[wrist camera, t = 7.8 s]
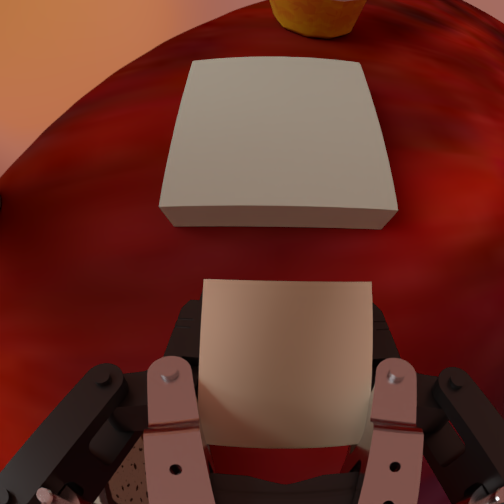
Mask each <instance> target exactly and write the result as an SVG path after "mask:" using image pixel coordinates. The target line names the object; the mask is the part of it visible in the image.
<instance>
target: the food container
mask: <svg viewBox="0 0 504 504" xmlns="http://www.w3.org/2000/svg"><path fill="white" fill-rule="evenodd" d="M143 433H144V432H143ZM143 433H142V435H141V436H140V438H139V439H138V441H137V442H136V443H135V445H134V446H133V448H132V449H131V451H130V452H129V453H128V455H127V456H126V458H125V459H124V461H123V462H122V463H121V465H120V466H119V468H118V469H117V471H116V472H115V473H114V475H113V476H112V478H111V479H110V480H109V482H108V483H107V485H106V486H105V487H104V489H103V490H102V492H101V493H100V495H99V496H98V497H97V499H96V500H95V502H94V503H93V504H149V499H148V490H147V480H146V470H145V457H144V441H143Z"/></svg>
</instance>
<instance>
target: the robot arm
mask: <svg viewBox="0 0 504 504" xmlns="http://www.w3.org/2000/svg"><path fill="white" fill-rule="evenodd" d="M0 207H1V197H0ZM202 298H203V291H202V294H201V297H200V300H190V301H189V302H188V303H187V304H185V305H184V306H183V307H182V309H181V311H180V314H179V316H178V320H177V322H176V324H175V328H174V330H173V332H172V335H171V337H170V340H169V343H168V346H167V348H166V351H165V354H164V356H163V357H162V358H160V359H158V360H156V361H155V362H153V363H152V364H151V366H150V367H149V369H148V370H146V371H143V372H136V373H127V374H123V373H122V371H121V369H120V368H119V367H117V366H116V365H113V364H109V363H104V364H99V365H97V366H95V367H93V368H91V369H90V370H89V371H88V372H87V373H86V374H85V376H84V377H83V378H82V379H81V380H80V381H79V382H78V383H77V384H76V385H75V387H74V388H73V389H72V390H71V391H70V392H69V393H68V394H67V395H66V396H65V398H64V399H63V400H62V401H61V402H60V403H59V404H58V405H57V407H56V408H55V409H54V410H53V411H52V412H51V413H50V415H49V416H48V417H47V418H46V419H45V420H44V421H43V423H42V424H41V425H40V426H39V427H38V428H37V430H36V431H35V432H34V433H33V434H32V435H31V437H30V438H29V439H28V440H27V441H26V442H25V444H24V445H23V446H22V447H21V448H20V450H19V451H18V452H17V453H16V454H15V456H14V457H13V458H12V459H11V460H10V462H9V463H8V464H7V465H6V467H5V468H4V469H3V470H2V471H1V473H0V504H93V503H94V502H95V500H96V499H97V497H98V496H99V495H100V493H101V492H102V490H103V489H104V487H105V486H106V485H107V483H108V482H109V480H110V479H111V478H112V476H113V475H114V473H115V472H116V471H117V469H118V468H119V466H120V465H121V463H122V462H123V461H124V459H125V458H126V456H127V455H128V453H129V452H130V451H131V449H132V448H133V446H134V445H135V443H136V442H137V441H138V439H139V438H140V436H141V435H142V433H143V432H144V433H143V441H144V457H145V470H146V480H147V490H148V499H149V504H417V500H418V493H419V485H420V477H421V467H422V456H423V455H424V457H425V458H426V460H427V462H428V463H429V465H430V467H431V469H432V470H433V472H434V474H435V475H436V477H437V479H438V481H439V482H440V484H441V486H442V487H443V489H444V491H445V493H446V494H447V496H448V498H449V500H450V502H451V503H452V504H504V420H503V418H502V417H501V416H500V414H499V413H498V412H497V410H496V409H495V408H494V406H493V405H492V404H491V403H490V401H489V400H488V399H487V397H486V396H485V395H484V394H483V392H482V391H481V390H480V389H479V387H478V386H477V385H476V384H475V382H474V381H473V380H472V379H471V377H470V376H469V375H468V374H467V373H466V372H465V371H463V370H462V369H459V368H456V367H449V368H446V369H444V370H443V371H442V372H441V373H440V374H439V376H438V377H436V376H429V375H423V374H418V373H416V372H415V370H414V368H413V367H412V365H411V364H409V363H408V362H407V361H405V360H402V359H401V358H400V355H399V353H398V350H397V348H396V345H395V343H394V340H393V338H392V335H391V333H390V330H389V328H388V325H387V323H386V320H385V318H384V316H383V313H382V311H381V310H380V309H379V308H378V307H377V306H376V305H375V304H374V303H372V309H373V353H372V380H371V394H370V398H369V405H368V412H367V418H366V424H365V429H364V433H363V435H362V438H361V440H360V442H359V443H358V444H353V445H349V447H348V451H347V456H346V459H345V462H344V464H343V466H342V468H341V471H340V474H330V475H322V476H319V477H315V478H312V479H308V480H304V481H301V482H297V483H293V484H288V485H283V484H278V483H274V482H269V481H265V480H261V479H257V478H253V477H250V476H242V475H229V474H218V473H216V470H215V466H214V462H213V459H212V454H211V450H210V445H209V444H206V441H205V438H204V434H203V429H202V424H201V419H200V413H199V407H198V381H199V354H200V332H201V314H202ZM449 420H450V421H451V423H452V424H453V426H454V427H455V429H456V430H457V432H458V433H459V435H460V436H461V438H462V439H463V441H464V443H465V445H464V444H463V443H462V441H461V439H460V438H459V436H458V435H457V434H456V432H455V431H454V429H453V428H452V426H451V425H450V423H449V422H448V421H449Z"/></svg>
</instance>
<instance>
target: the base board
mask: <svg viewBox="0 0 504 504" xmlns="http://www.w3.org/2000/svg"><path fill="white" fill-rule="evenodd" d="M159 208H160V209H161V210H162V212H163V213H164V214H165V215H166V217H167V218H168V219H169V221H170V222H171V223H172V224H173V226H256V227H318V228H356V229H382V228H383V227H384V226H385V225H386V224H387V223H388V221H389V220H390V219H391V218H392V217H393V216H394V215H395V213H396V212H397V211H398V206H397V200H396V194H395V189H394V184H393V179H392V174H391V169H390V165H389V160H388V156H387V152H386V147H385V143H384V139H383V136H382V132H381V128H380V124H379V121H378V117H377V114H376V110H375V107H374V104H373V101H372V97H371V94H370V91H369V88H368V85H367V82H366V79H365V76H364V74H363V71H362V68H361V65H360V63H357V62H350V61H341V60H331V59H320V58H304V57H236V58H220V59H208V60H198V61H193V62H192V65H191V69H190V72H189V75H188V79H187V82H186V86H185V90H184V93H183V97H182V101H181V104H180V108H179V112H178V116H177V120H176V124H175V129H174V133H173V137H172V142H171V146H170V151H169V155H168V160H167V165H166V170H165V175H164V180H163V185H162V191H161V197H160V202H159Z"/></svg>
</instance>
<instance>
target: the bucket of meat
mask: <svg viewBox="0 0 504 504" xmlns="http://www.w3.org/2000/svg"><path fill="white" fill-rule="evenodd" d="M269 1H270V4H271V7H272V10H273V13H274V16H275V17H276V18H277V20H278V21H279V22H280V24H281V25H282V26H283V27H284V28H285V29H286V30H289V31H292V32H294V33H297V34H300V35H302V36H305V37H312V38H323V39H332V38H335V37H339V36H343V35H345V34H348V33H350V32H351V30H352V28H353V26H354V24H355V22H356V20H357V18H358V16H359V14H360V13H361V11H362V9H363V7H364V5H365V3H366V1H367V0H269Z"/></svg>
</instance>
